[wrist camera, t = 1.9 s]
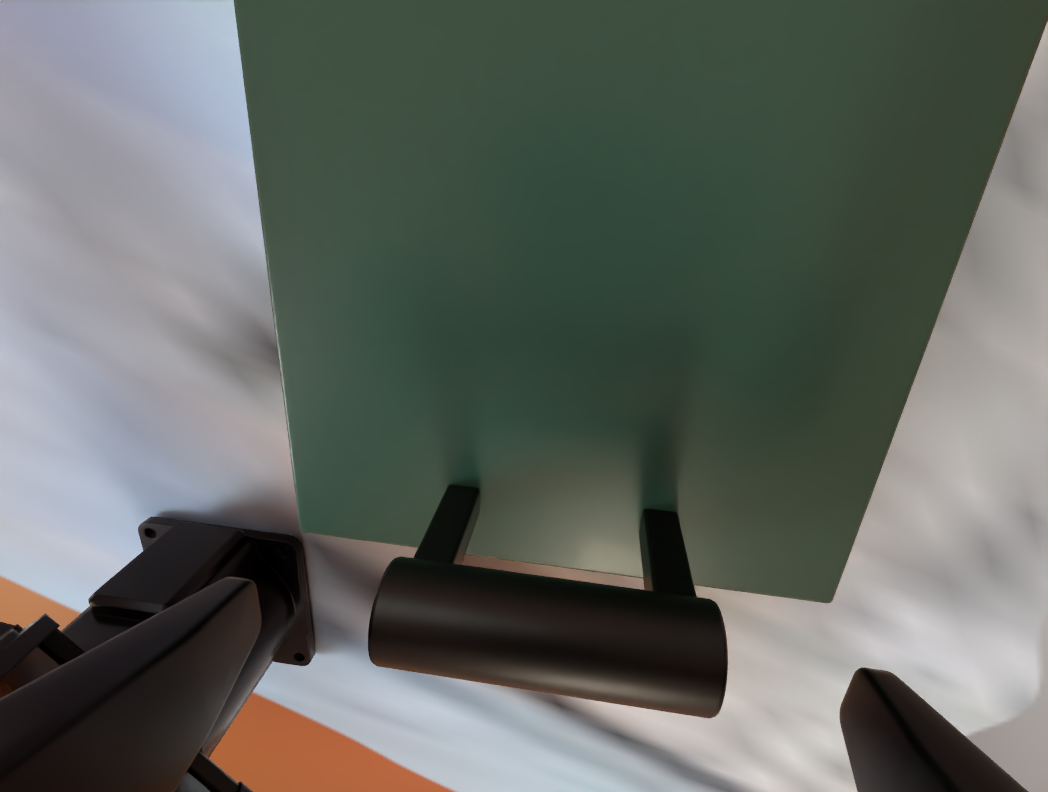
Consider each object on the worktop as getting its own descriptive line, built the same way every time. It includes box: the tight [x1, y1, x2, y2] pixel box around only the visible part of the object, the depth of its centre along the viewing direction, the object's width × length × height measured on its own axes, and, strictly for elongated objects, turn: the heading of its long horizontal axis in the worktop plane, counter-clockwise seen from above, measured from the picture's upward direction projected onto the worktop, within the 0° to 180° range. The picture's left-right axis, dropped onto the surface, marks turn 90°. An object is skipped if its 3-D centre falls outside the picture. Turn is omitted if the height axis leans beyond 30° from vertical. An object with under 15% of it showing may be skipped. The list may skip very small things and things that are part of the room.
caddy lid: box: [234, 0, 1048, 718], centre depth 8 cm, size 11×12×5 cm
